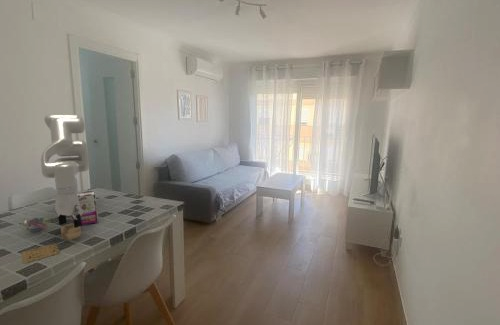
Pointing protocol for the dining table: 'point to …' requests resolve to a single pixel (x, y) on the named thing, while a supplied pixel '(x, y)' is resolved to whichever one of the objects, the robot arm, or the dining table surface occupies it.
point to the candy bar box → (88, 208)
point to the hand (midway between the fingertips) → (70, 225)
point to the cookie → (40, 253)
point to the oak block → (70, 232)
